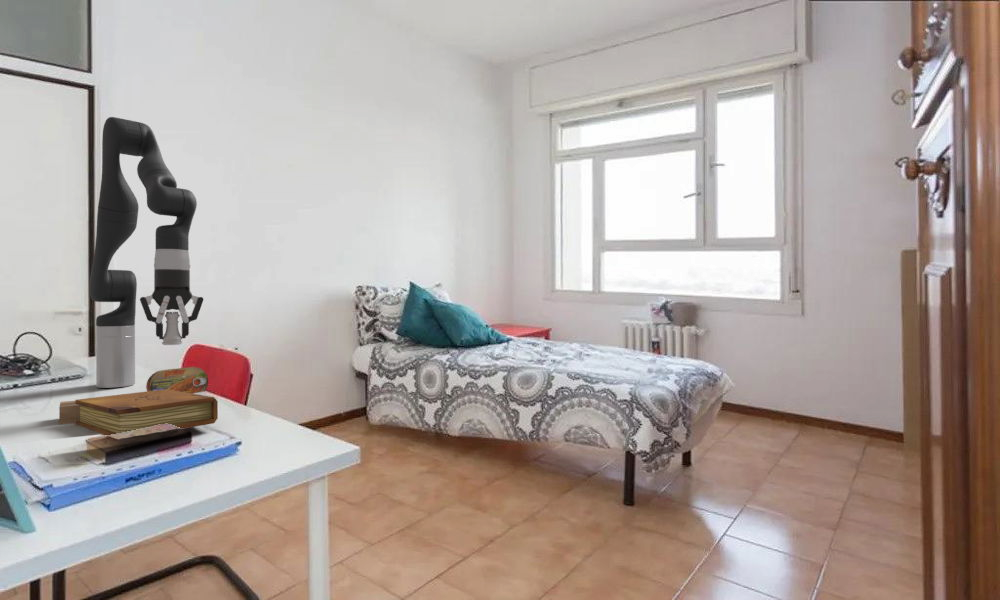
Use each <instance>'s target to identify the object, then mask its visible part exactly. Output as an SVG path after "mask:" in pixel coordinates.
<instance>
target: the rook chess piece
mask: <svg viewBox="0 0 1000 600" xmlns="http://www.w3.org/2000/svg"><path fill="white" fill-rule="evenodd" d="M180 316H181V315H180V313H179V311H165V314H164V317H165V318H166V321H165V323H166V326H165V333H163V339H161V340H162V342H161V344H162V345H163V346H177V345H182V343H183V341H182V339H183V338H182V335H181V333H180V331H179V318H180Z"/></svg>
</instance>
